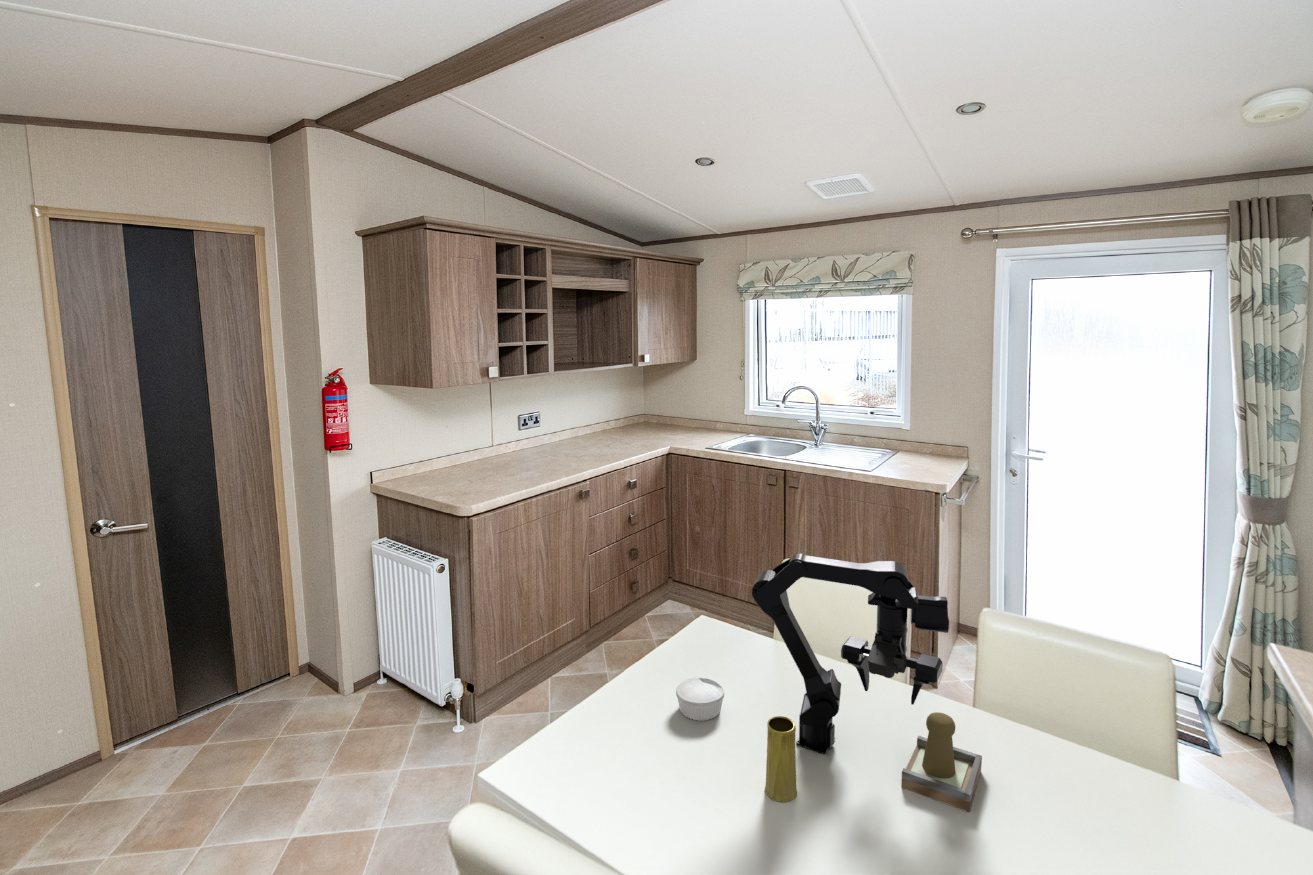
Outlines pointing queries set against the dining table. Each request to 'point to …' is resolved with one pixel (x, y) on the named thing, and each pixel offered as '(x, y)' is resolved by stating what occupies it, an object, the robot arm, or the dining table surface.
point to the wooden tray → (944, 790)
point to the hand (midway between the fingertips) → (889, 696)
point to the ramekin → (700, 698)
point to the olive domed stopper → (939, 746)
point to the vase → (781, 759)
